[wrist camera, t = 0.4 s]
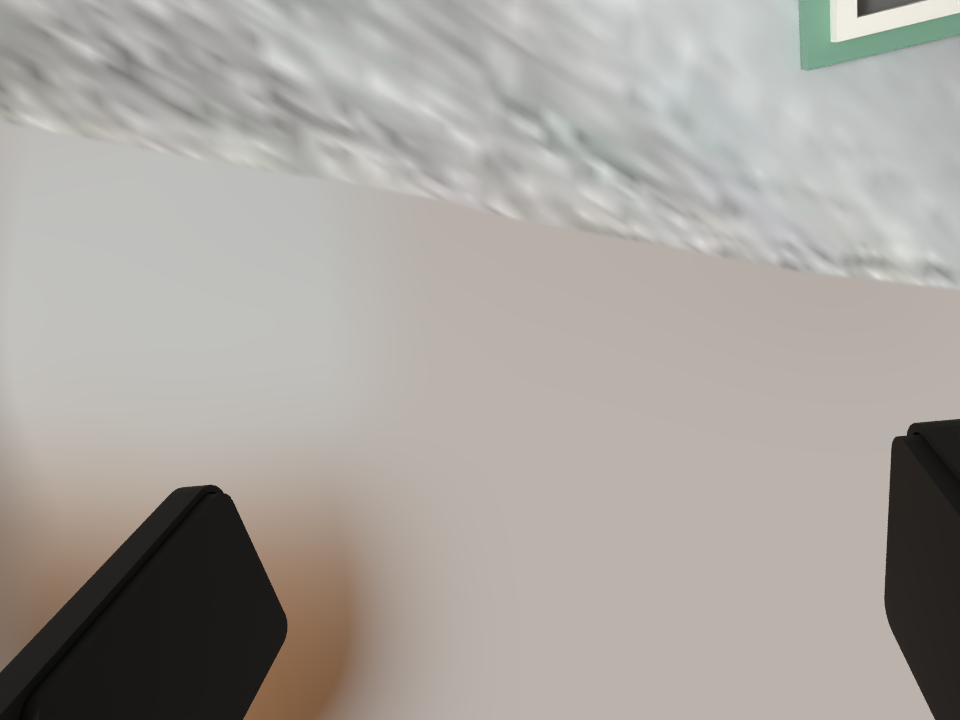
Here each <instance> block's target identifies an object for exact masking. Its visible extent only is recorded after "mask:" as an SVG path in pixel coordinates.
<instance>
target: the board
mask: <svg viewBox="0 0 960 720" xmlns="http://www.w3.org/2000/svg"><path fill="white" fill-rule="evenodd" d="M799 22H800V51H801V69H803V70H812V69H816V68H820V67H825V66H829V65H833V64H837V63H842V62H846V61H850V60H854V59H859V58H863V57H867V56H871V55H876V54H880V53H884V52H889V51H893V50H897V49H901V48H906V47H910V46H914V45H918V44H923V43H927V42H931V41H935V40H940V39H944V38H948V37H952V36H957V35H960V0H799Z"/></svg>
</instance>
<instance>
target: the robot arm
mask: <svg viewBox="0 0 960 720" xmlns="http://www.w3.org/2000/svg"><path fill="white" fill-rule="evenodd" d="M888 514H889V515H888V533H887V534H888V535H887V554H886V556H887V557H886V575H885V596H884V597H885V598H884V599H885V610H886V614H887V618H888V622H889V625H890V627H891V630H892V632H893V634H894V636H895V638H896V640H897V642H898V644H899V646H900V649H901V651H902V653H903V655H904V657H905V659H906V661H907V663H908V665H909V667H910V669H911V671H912V673H913V675H914V677H915V679H916V681H917V683H918V685H919V687H920V690H921V692H922V693H923V696H924V697H925V700H926V702H927V704H928V706H929V708H930V710H931V712H932V714H933V716H934V718H935V720H960V419H955V420H943V421H932V422H921V423H914V424H912V425H910V427H909V429H908V432H907V436H898V437H895V438H894V440H893V442H892V449H891V470H890V492H889V513H888ZM286 634H287V618H286V615H285V613H284V611H283V609H282V607H281V604H280V602H279V600H278V598H277V596H276V593H275V591H274V589H273V587H272V585H271V583H270V580H269V579H268V576H267V574H266V572H265V570H264V567H263V565H262V563H261V561H260V559H259V557H258V554H257V552H256V551H255V548H254V546H253V544H252V542H251V539H250V537H249V535H248V533H247V531H246V529H245V526H244V524H243V522H242V520H241V518H240V515H239V513H238V511H237V509H236V507H235V504H234V503H233V500H232V499H231V497H230V496H229V495H227V494H224V493H223V491H222V490H221V489H220V488H218V487H217V486H214V485H204V486H192V487H182V488H178V489H176V490H175V491H173V492H172V493H171V494H170V495H169V496H168V497H167V498H166V499H165V500H164V501H163V502H162V503H161V504H160V505H159V507H158V508H157V509H156V510H155V511H154V512H153V513H152V514H151V515H150V516H149V517H148V518H147V519H146V520H145V521H144V522H143V523H142V524H141V526H140V527H139V528H138V529H137V530H136V531H135V532H134V533H133V534H132V535H131V536H130V537H129V538H128V539H127V540H126V541H125V542H124V543H123V544H122V545H121V546H120V548H119V549H118V550H117V551H116V552H115V553H114V554H113V555H112V556H111V557H110V558H109V559H108V560H107V561H106V562H105V563H104V564H103V566H101V567H100V569H99V570H98V571H97V572H96V573H95V574H94V575H93V576H92V577H91V578H90V579H89V580H88V581H87V582H86V583H85V584H84V585H83V587H81V588H80V590H79V591H78V592H77V593H76V594H75V595H74V596H73V597H72V598H71V599H70V600H69V601H68V602H67V603H66V604H65V605H64V606H63V607H62V609H60V611H59V612H58V613H57V614H56V615H55V616H54V617H53V618H52V619H51V620H50V621H49V622H48V623H47V624H46V625H45V626H44V628H42V629H41V630H40V632H39V633H38V634H37V635H36V636H35V637H34V638H33V639H32V640H31V641H30V642H29V643H28V644H27V645H26V646H25V647H24V648H23V649H22V650H21V652H20V653H19V654H18V655H17V656H16V657H15V658H14V659H13V660H12V661H11V662H10V663H9V664H8V665H7V666H6V667H5V668H4V669H3V670H2V672H1V673H0V720H243V718H244V716H245V715H246V713H247V711H248V709H249V707H250V705H251V703H252V701H253V700H254V698H255V696H256V694H257V692H258V690H259V688H260V686H261V684H262V683H263V681H264V678H265V677H266V675H267V673H268V671H269V669H270V667H271V666H272V664H273V662H274V660H275V658H276V656H277V654H278V652H279V650H280V648H281V646H282V645H283V643H284V641H285V638H286Z"/></svg>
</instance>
